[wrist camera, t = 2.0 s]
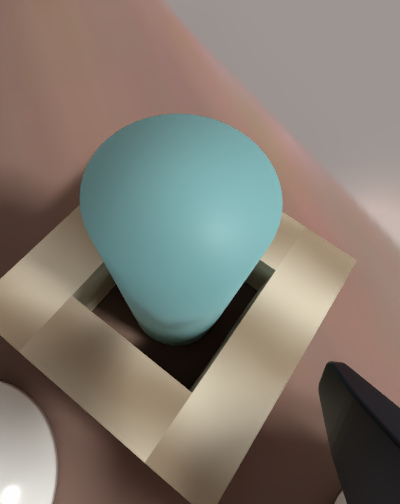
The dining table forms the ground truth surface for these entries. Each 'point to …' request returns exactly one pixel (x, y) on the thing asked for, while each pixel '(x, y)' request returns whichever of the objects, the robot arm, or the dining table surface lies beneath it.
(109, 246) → the dowel
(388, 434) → the robot arm
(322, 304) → the pocket collar
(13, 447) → the pad
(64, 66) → the dining table surface
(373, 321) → the dining table surface
